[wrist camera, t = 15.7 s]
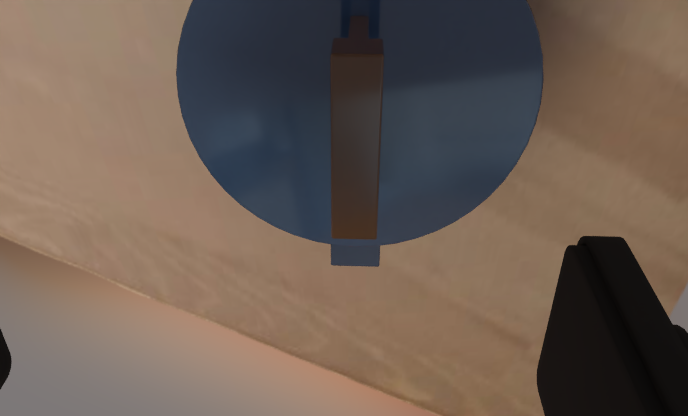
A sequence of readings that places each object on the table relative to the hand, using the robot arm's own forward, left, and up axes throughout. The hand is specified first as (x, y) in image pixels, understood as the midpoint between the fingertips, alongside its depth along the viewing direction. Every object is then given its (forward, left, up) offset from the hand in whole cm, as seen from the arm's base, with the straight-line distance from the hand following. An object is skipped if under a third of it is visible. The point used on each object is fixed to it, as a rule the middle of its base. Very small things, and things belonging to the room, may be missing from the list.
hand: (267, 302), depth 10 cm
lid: (+1, +3, -17) cm, 17 cm away
